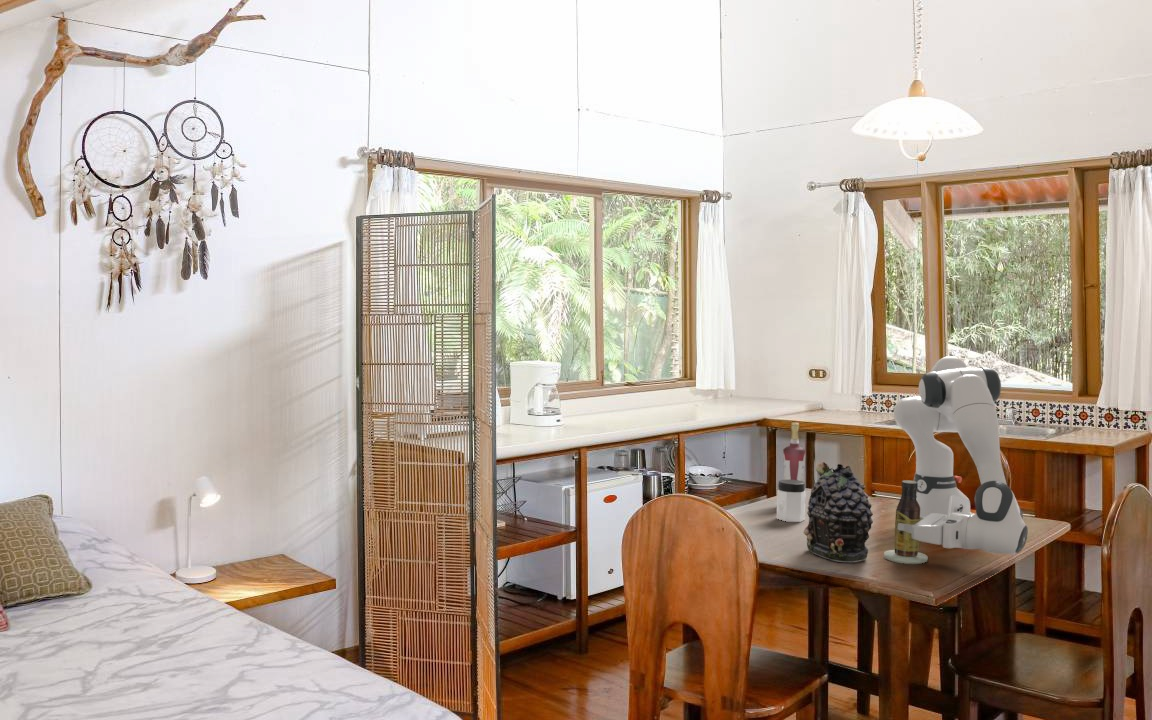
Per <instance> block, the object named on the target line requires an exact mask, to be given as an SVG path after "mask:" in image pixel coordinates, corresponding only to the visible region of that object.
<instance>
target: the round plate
mask: <svg viewBox="0 0 1152 720" xmlns="http://www.w3.org/2000/svg"><path fill="white" fill-rule="evenodd" d="M883 558H884V559H885V560H887V561H889V562H893V563H897V564H903V563H904V564H903V565H922V563H923V564H926V563H928V555H926V554H925V553H923V552H919V551H918V555H917V556H914V557H907V556H900V555H898V554H896V553H895V549H889V550H885V551H884V553H883ZM925 562H926V563H925Z"/></svg>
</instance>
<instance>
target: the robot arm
mask: <svg viewBox="0 0 1152 720" xmlns="http://www.w3.org/2000/svg"><path fill="white" fill-rule="evenodd" d="M1001 390H1002V382H1001V378H1000V375H999V373H998V372H997V371H996V370H994V369H993V368H991V367H987V366H986V367H984V366H977V367H968V366H967V364H966V362H964V360H962V358H959V357H957V356H954V355H953V356H951V355H949V356H948V355H947V356H944V357H942V358H940V359H939V360H937V362H935V364H934V366H932V368H931V370H930V371H929V372H926V373H923V374H922V376H921V377H920V380H919V383H918V395H919V396H917V395H916V396H915V395H914V396H909V397H908V396H907V397H902V398H900V399H899V400H898V401H897V402H896V404H895V406H894V408H893V418H894V421H895V424H897V426H898V427H899V428H901V429H902V430H903V431H904V432H905V433H906V434H907V435H908V436H909V437H910V440H911V441H912V443H913V446H914V450H915V465H916V466H915V473H914V477H913V481H916V482H918V487H917V494H916V496H917V498H916V500H917V502H918V504H919V506H920V521H919V522H917V523H916V524H914V525H913V524H911V525H910V524H906V523H899V524H898V530H901V531H905V532H908V533H912V538H913V539H915V540H917V541H919V542H922V543H927V544H931V545H939V546H942V548H944V549H955V548H957V549H965V550H979V551H980V550H981V551H983V552H986V553H993V554H1000V555H1001V554H1003V555H1007V554H1008V555H1014V554H1018V553H1020V552H1021V551H1022V550H1023V549H1024V547H1025V545H1026V542H1027V539H1028V535H1029V534H1028V532H1029V531H1028V530H1029V529H1028V526H1027V524H1026V523H1025V521H1024V518H1023V517H1024V515H1023V511H1022V509H1021V507H1020V505H1019V503H1018V501H1017V498H1016V497H1015V494H1014V492H1013V490H1012V489H1011V488H1010V486H1008V483H1007V479H1006V475H1005V473H1004V469H1003V468H1004V467H1003V464H1002V459H1001V448H1000V446H1001V445H1000V444H1001V443H1000V426H999V419H998V413H997V408H996V405H995V402H997V401H998V400H999V398H1000V396H1001V392H1002V391H1001ZM934 432H938V433H939V432H940V433H941V432H942V433H958V435H959V437H960V439H961V441H962V444H963V445H964V447H965V448H966V450H967V451H968V453H969V455H970V457H971V459H972V461H973V462H974V464H975V467H976V469H977V473H978V477H979V480H980V485H979V486H978V487H977V489H976V490H975V493H974V504H975V505H974V506H975V507H974V508H975V513H973V512H971V501H970V499H969V498H968V497H967V495H965V494H964V493H963V492H962V490H960V489H958V487H957V483H960V484H961V483H962V481H963V478H962V476H958V475H954V452H953V450H952V448H951V447H950V446H948V445H947V444H945V443H943V442H941V441H939V440H937V439H936V438H935V435H934Z"/></svg>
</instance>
